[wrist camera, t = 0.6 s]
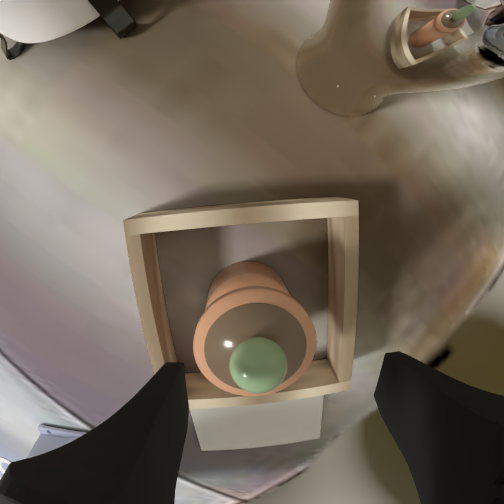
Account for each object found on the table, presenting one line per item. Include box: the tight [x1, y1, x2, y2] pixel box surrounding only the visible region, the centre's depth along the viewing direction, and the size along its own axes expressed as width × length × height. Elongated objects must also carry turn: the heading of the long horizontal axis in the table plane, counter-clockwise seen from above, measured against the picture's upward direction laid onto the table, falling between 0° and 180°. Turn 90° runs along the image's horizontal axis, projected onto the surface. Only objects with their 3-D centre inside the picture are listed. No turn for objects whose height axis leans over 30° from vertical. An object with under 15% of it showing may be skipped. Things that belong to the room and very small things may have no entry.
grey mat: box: [190, 395, 323, 451], centre depth 22 cm, size 10×6×1 cm, turn 94°
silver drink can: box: [296, 0, 504, 117], centre depth 9 cm, size 7×7×15 cm
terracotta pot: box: [193, 261, 317, 396], centre depth 15 cm, size 6×6×8 cm
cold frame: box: [123, 197, 359, 409], centre depth 18 cm, size 12×12×3 cm
